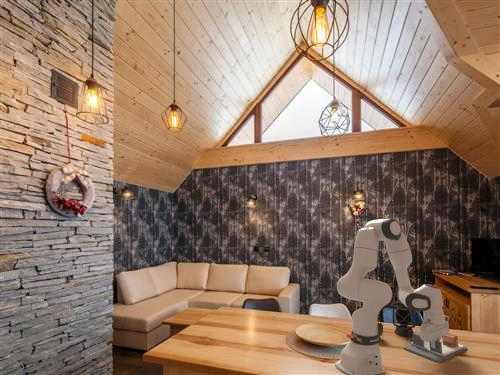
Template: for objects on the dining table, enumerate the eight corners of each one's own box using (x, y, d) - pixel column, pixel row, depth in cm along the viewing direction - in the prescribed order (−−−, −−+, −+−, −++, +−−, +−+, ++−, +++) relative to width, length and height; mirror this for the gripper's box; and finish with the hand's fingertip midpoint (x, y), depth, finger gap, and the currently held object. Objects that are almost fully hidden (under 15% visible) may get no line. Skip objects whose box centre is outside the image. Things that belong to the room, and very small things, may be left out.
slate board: (438, 362, 136) (438, 360, 136) (404, 349, 150) (403, 347, 151) (467, 349, 150) (467, 347, 150) (432, 337, 165) (432, 336, 165)
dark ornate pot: (385, 341, 160) (384, 326, 161) (371, 340, 161) (370, 325, 162) (382, 336, 167) (381, 322, 168) (368, 335, 169) (368, 321, 169)
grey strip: (426, 349, 147) (425, 338, 147) (410, 344, 154) (409, 332, 154) (446, 341, 157) (445, 330, 158) (430, 336, 164) (430, 325, 164)
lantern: (393, 335, 168) (390, 282, 171) (391, 329, 178) (389, 279, 181) (418, 338, 164) (414, 284, 167) (414, 331, 174) (411, 280, 177)
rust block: (453, 347, 147) (452, 337, 148) (442, 344, 152) (442, 334, 152) (458, 345, 150) (457, 335, 150) (447, 342, 154) (447, 332, 155)
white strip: (444, 356, 140) (443, 344, 140) (427, 350, 146) (426, 338, 147) (464, 347, 150) (463, 335, 150) (447, 341, 156) (446, 330, 157)
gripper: (428, 323, 137) (430, 354, 136) (450, 316, 148) (452, 344, 146) (415, 319, 143) (417, 349, 141) (437, 313, 153) (439, 340, 151)
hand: (435, 346), depth 144 cm, fingers closed on white strip, 2 cm apart
